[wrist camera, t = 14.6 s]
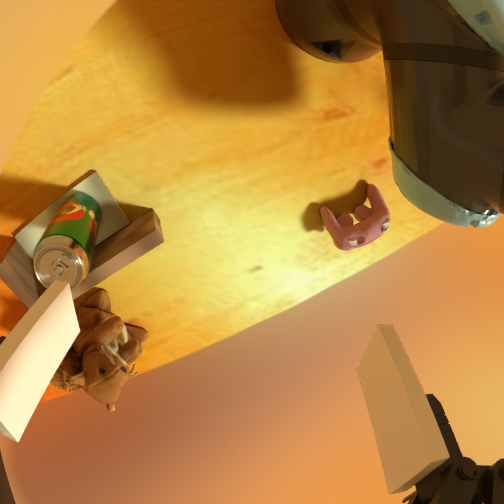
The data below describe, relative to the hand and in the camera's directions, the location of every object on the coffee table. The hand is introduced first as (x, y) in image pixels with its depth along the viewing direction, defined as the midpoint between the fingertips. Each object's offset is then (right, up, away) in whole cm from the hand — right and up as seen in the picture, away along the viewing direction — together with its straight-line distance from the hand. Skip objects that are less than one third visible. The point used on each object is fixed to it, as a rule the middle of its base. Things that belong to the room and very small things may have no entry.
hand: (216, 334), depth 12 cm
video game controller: (+15, +9, +31) cm, 36 cm away
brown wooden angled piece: (-18, +6, +19) cm, 27 cm away
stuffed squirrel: (-20, -7, +26) cm, 33 cm away
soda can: (-17, +8, +18) cm, 26 cm away
